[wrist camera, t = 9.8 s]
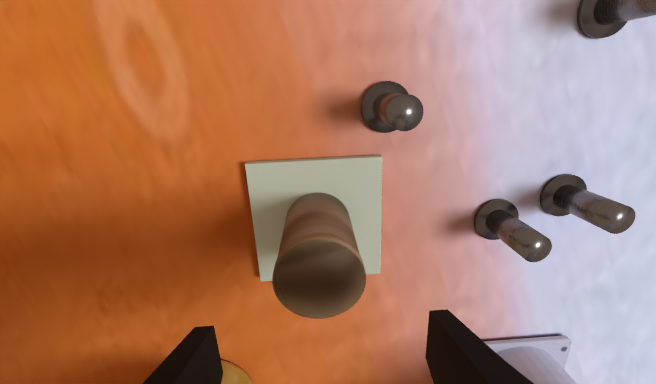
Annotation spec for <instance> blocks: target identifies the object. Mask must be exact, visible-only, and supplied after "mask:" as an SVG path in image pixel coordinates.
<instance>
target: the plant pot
mask: <svg viewBox="0 0 656 384" xmlns="http://www.w3.org/2000/svg"><path fill="white" fill-rule="evenodd" d="M221 364H222V369H223V377H222V382H221V384H252V382H251V380H250V378H249V376H248V375H247V374H246V373H245V372H244V371H243V370H242V369H241V368H239V367H238V366H236V365H235V364H233V363H230V362H227V361H224V360H221Z"/></svg>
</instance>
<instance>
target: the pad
mask: <svg viewBox="0 0 656 384" xmlns="http://www.w3.org/2000/svg"><path fill="white" fill-rule="evenodd" d="M245 169H246V176H247V183H248V191H249V198H250V205H251V213H252V220H253V228H254V235H255V242H256V250H257V257H258V264H259V272H260V279H261V281H272V276H273V270H274V266H275V262H276V260H277V257H278V253H279V248H280V243H281V239H282V234H283V229H284V225H285V220H286V216H287V212H288V210H289V208H290V207H291V205H292V204H293V203H294V202H295V201H296V200H297V199H299V198H300V197H302V196H304V195H306V194H310V193H326V194H330V195H332V196H334V197H336V198H337V199H339V200H340V201H341V202H342V203H343V204H344V205H345V207H346V209H347V211H348V213H349V217H350V220H351V224H352V228H353V231H354V235H355V239H356V243H357V246H358V250H359V254H360V256H361V258H362V261H363V264H364V268H365V272H366V274H379V273H380V266H381V210H382V156H381V155H363V156H344V157H325V158H306V159H287V160H268V161H249V162H246V163H245Z"/></svg>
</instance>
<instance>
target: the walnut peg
mask: <svg viewBox="0 0 656 384" xmlns="http://www.w3.org/2000/svg"><path fill="white" fill-rule="evenodd" d="M272 284H273V289H274V292H275V294H276V296H277V298H278V299H279V301H280V302H281V303H282V304H283V305H284V306H285V307H286V308H287V309H289V310H290V311H292V312H293V313H295V314H297V315H300V316H303V317H307V318H314V319H323V318H329V317H334V316H336V315H339V314H341V313H343V312H345V311H347V310H348V309H350V308H351V307H352V306H353V305H354V304H355V303H356V302H357V301H358V300H359V298H360V297H361V295H362V293H363V291H364V288H365V284H366V272H365V268H364V264H363V261H362V258H361V256H360V254H359V250H358V246H357V243H356V239H355V235H354V231H353V228H352V224H351V220H350V217H349V213H348V211H347V209H346V207H345V205H344V204H343V203H342V202H341V201H340V200H339V199H337V198H336V197H334V196H332V195H330V194H326V193H310V194H306V195H304V196H302V197H300V198H299V199H297V200H296V201H295V202H294V203H293V204H292V205H291V207H290V208H289V210H288V212H287V216H286V220H285V225H284V229H283V234H282V239H281V243H280V248H279V253H278V257H277V260H276V262H275V266H274V270H273V276H272Z"/></svg>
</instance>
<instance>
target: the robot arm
mask: <svg viewBox="0 0 656 384" xmlns="http://www.w3.org/2000/svg"><path fill="white" fill-rule="evenodd" d="M570 345H571V340H570V339H569V338H568V337H567V336H549V337H536V338H523V339H509V340H496V341H482V340H481V339H480V338H479V337H477V336H476V335H475V334H474V333H473V332H472V331H471V330H470V329H469V328H467V327H466V326H465V325H464V324H463V323H462V322H461V321H460V320H459V319H457V318H456V317H455V316H454V315H453V314H452V313H451V312H450V311H449V310H434V311H429V323H428V335H427V347H426V360H427V363H428V367H429V370H430V373H431V376H432V379H433V382H434V384H577V383H576V382H575V381H574V380H573V379H572V378H571V377H570V376H569V374H568V373H567V372H566V371H565V370H564V366H565V363H566V359H567V356H568V352H569V349H570ZM222 377H223V369H222V364H221V359H220V354H219V349H218V344H217V340H216V335H215V330H214V326H204V327H195V328H194V329H193V330H192V331H191V332H190V333H189V334H188V335H187V336H186V337H185V338H184V339H183V340H182V342H181V343H180V344H179V345H178V346H177V347H176V348H175V349H174V350H173V351H172V352H171V354H170V355H169V356H168V357H167V358H166V359H165V360H164V361H163V362H162V363H161V364H160V366H159V367H158V368H157V369H156V370H155V371H154V372H153V373H152V374H151V375H150V376H149V377H148V378H147V379H146V380H145V381H144V382H143V384H221V382H222Z"/></svg>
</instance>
